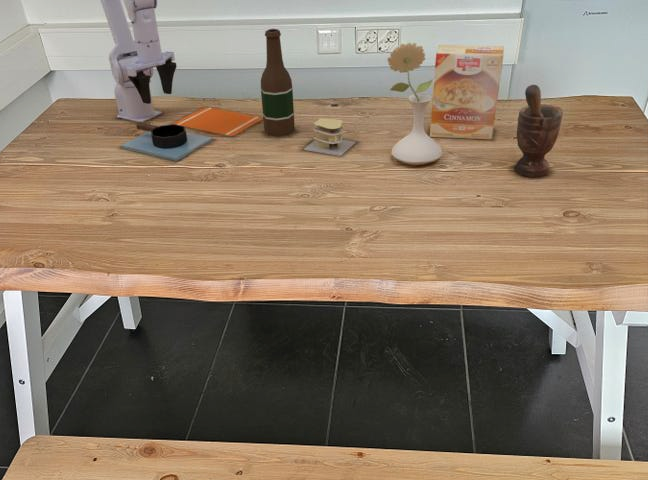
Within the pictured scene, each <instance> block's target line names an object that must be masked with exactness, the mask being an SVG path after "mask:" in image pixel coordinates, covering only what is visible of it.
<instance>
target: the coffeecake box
mask: <svg viewBox="0 0 648 480" xmlns="http://www.w3.org/2000/svg"><path fill="white" fill-rule="evenodd" d="M504 52H505V46H504V45H500V46H499V45H498V46H497V45H460V44H458V45H457V44H438V46H437V49H436V52H435V64H434V74H433V75H434V76H433V88H432V99H431V101H432V102H431V112H430V114H431V115H430V128H429V137H431V138H448V139H449V138H450V139H467V140H468V139H470V140H471V139H472V140H491V141H492V140H493V134H494V128H495V121H496V114H497V105H498V98H499V91H500V84H501V77H502V69H503V63H504V62H503V61H504Z"/></svg>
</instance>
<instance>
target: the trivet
mask: <svg viewBox="0 0 648 480" xmlns="http://www.w3.org/2000/svg"><path fill="white" fill-rule="evenodd" d="M157 126H158V125H157ZM159 126H160V125H159ZM159 126H158V127H159ZM186 135H187V142H186V143H185V144H184V145H182V146H179V147H176V148H169V149H162V148H157V147H155V146H154V145H153V141H152V136H151V132H150V131H146V132H144V133H142V134H140V135H138V136H136V137H135V138H132V139H130V140H128V141H126V142H124V143H122V144H120V146H121V147H120V148H121V149H124V150H127V151H133V152H137V153H139V154H144V155H147V156H148V155H149V156H153V157H156V158H162V159H164V160H165V159H166V160H170V161H173V162H178V161H180V160H181V159H183V158H186V156H188V155H189V154H190V153H192V152H194V151H196V150H198V149H199V148H202V147H203V146H205V145H206V144H208V143H210V142H212V141H214V138H213V137H211V136H207V135H201V134H198V133H197V134H196V133H193V132H188V131H186Z"/></svg>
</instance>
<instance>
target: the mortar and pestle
mask: <svg viewBox="0 0 648 480" xmlns="http://www.w3.org/2000/svg"><path fill="white" fill-rule="evenodd" d="M524 95H525V100H526V104H527V105H525V106H523V107H521V108H520V109H519V112H518V116H517V126H516V141H517V147H518V148H519V150H520V151H521V153H522V156H521V157H520V158H519V159H518V161H516V164H515V165H513V170H514V171H515V172H516V173H518V174H519V175H521V176H523V177H527V178H540V177H543V176H547V175H548V174H549V173H550V168H551V167H550V162H549V161H548V160H547V159H546V158H545V157H546V155H547V154H548V153H550V152H551V150H552V149H553V148H554V146H555V144H556V141H557V140H558V136H559V133H560V129H561V123H562V119H563V116H564V115H563V114H564V111H563V109H562V108H561V107H560V106H557V105H553V104H547V103H543V104H541V103H542V91H541V89H540V87H539V86H538V85H536V84H531V85H528V86H527V87H526V88H525V92H524Z"/></svg>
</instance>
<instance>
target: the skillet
mask: <svg viewBox="0 0 648 480" xmlns="http://www.w3.org/2000/svg"><path fill="white" fill-rule="evenodd" d="M135 126H136V129H137V130H140V131H144V132H145V131H146V132H148V131H150V132H151V136H152V141H153V145H154V146H155V147H157V148H162V149H169V148H176V147H179V146H182V145H184V144H185V143H186V142H187V135H186V132H187V130H186V126H181V125H176V124H164V125H159V127H158V125H153V124H151V123H145V122H137V123H136V124H135Z"/></svg>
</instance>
